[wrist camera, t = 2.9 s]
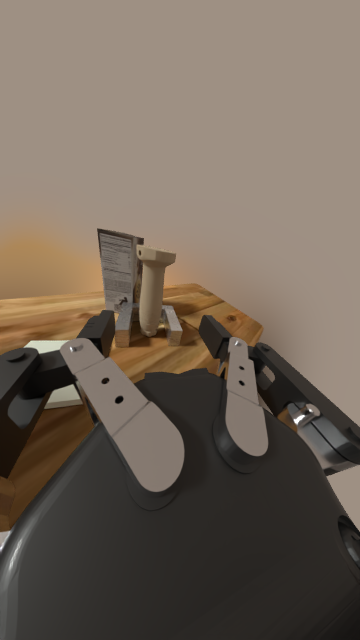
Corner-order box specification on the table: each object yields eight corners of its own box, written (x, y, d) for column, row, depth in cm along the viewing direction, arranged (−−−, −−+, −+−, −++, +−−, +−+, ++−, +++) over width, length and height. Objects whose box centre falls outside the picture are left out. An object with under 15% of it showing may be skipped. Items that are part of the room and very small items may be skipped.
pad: (-42, 420, 11) (-51, 414, 10) (33, 346, 18) (31, 340, 18) (84, 403, 13) (82, 398, 13) (105, 345, 21) (104, 340, 20)
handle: (151, 322, 29) (157, 248, 22) (167, 338, 25) (182, 254, 18) (130, 327, 26) (129, 243, 19) (145, 346, 22) (152, 250, 15)
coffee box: (119, 297, 37) (116, 231, 29) (142, 301, 38) (144, 237, 30) (104, 311, 29) (94, 226, 21) (133, 315, 30) (134, 235, 22)
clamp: (115, 347, 21) (114, 329, 19) (123, 316, 29) (123, 302, 27) (178, 345, 24) (182, 330, 22) (170, 318, 32) (172, 305, 30)
